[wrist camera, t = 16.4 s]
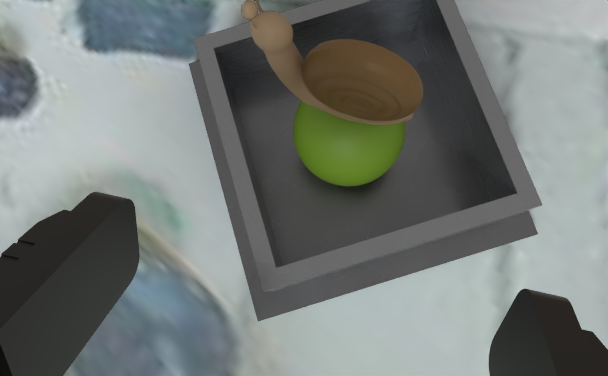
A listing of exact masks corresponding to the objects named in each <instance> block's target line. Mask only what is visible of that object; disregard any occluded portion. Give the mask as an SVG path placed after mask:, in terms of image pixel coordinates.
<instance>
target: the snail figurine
mask: <svg viewBox="0 0 608 376" xmlns="http://www.w3.org/2000/svg"><path fill="white" fill-rule="evenodd" d="M254 1H256V3H257V5H256V3H255V2H253V1H251V0H247V1H245V2H244V3H243V5H242V7H241V14H242V16H243V17H244V18H246V19H250V22H251V33H252V37H253V40H254V42H255V43H256V45H257V46H258V47H260V48H261V49H262V50H263V51H264V53H265V55H266V58H267V60H268V62H269V64H270V66H271V67H272V69H273V71H274V72H275V74H276V75H277V76H278V78H279V79H280V80H281V82H282V83H283V84H284V85H285V86H286V87H287V88H288V89H289V90H290V91H291V92H292V93H293V94H294V95H295V96H296V97H297V98H299V99H300V100H301V102H300V104H299V106H298V108H297V110H296V113H295V117H294V122H293V139H294V144H295V148H296V150H297V153H298V155H299V157H300V159H301V160H302V162H303V163H304V165H305V166H306V167H307V168H308V169H309V170H310V171H311V172H312V173H313V174H314V175H316V176H317V177H318V178H320V179H322V180H324V181H326V182H328V183H331V184H335V185H340V186H357V185H362V184H366V183H369V182H371V181H373V180H375V179H377V178H379V177H380V176H382V175H383V174H384V173H385V172H387V171H388V170H389V169H390V168H391V166H392V165H393V164H394V163H395V161H396V160H397V158H398V156H399V154H400V152H401V150H402V147H403V144H404V140H405V122H406V121H408V120H410V119H411V118H412V117H413V112H414V111H415V110H416V109H417V108H418V107H419V105H420V103H421V100H422V98H423V85H422V81H421V79H420V77H419V75H418V73H417V72H416V70H415V69H414V68H413V67H412V65H410V64H409V63H408V62H407V61H406V60H405V59H403V58H402V57H400V56H399V55H397V54H396V53H394V52H392V51H390V50H388V49H386V48H384V47H381V46H378V45H376V44H373V43H369V42H365V41H359V40H352V39H337V40H330V41H326V42H324V43H321V44H319V45H318V46H316V47H315V48H313V49H312V50H311V51H310V52H309V53H308V55H307V57H306V58H305V60H303V59H302V57H301V55H300V53H299V51H298V49H297V48H296V46H295V44H294V43H293V41H292V39H293V29H292V26H291V24H290V22H289V21H288V19H287V18H286V17H285V16H283V15H282V14H280V13H278V12H275V11H265V12H264V11H263V10H262V9H261V7H260V5H259V1H258V0H254ZM257 6H258V7H257ZM258 8H259V11H260V14H258V15H257V13H258ZM256 15H257V16H256ZM253 18H254V19H253ZM252 19H253V21H252Z"/></svg>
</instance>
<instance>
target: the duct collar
mask: <svg viewBox="0 0 608 376" xmlns="http://www.w3.org/2000/svg"><path fill="white" fill-rule="evenodd" d="M280 14H282V15H283V16H285V17H286V18H287V19H288V21H289V22H290V24H291V26H292V29H293V39H292V41H293V43H294V44H295V46H296V48H297V49H298V51H299V53H300V55H301V57H302V59H303V60H305V58H306V57H307V55H308V53H309V52H310V51H311V50H312V49H313V48H315V47H316V46H318V45H319V44H321V43H324V42H326V41H330V40H337V39H352V40H359V41H365V42H369V43H373V44H376V45H378V46H381V47H384V48H386V49H388V50H390V51H392V52H394V53H396V54H397V55H399V56H400V57H402V58H403V59H405V60H406V61H407V62H408V63H409V64H410V65H412V67H413V68H414V69H415V70H416V72H417V73H418V75H419V77H420V79H421V81H422V85H423V98H422V100H421V103H420V105H419V107H418V108H417V109H416V110H415V111H414V112H413V117H412V118H411V119H410V120H408V121H406V122H405V140H404V144H403V147H402V150H401V152H400V154H399V156H398V158H397V160H396V161H395V163H394V164H393V165H392V166H391V168H390V169H389V170H388V171H387V172H385V173H384V174H383V175H382V176H380V177H379V178H377V179H375V180H373V181H371V182H369V183H366V184H362V185H357V186H340V185H335V184H331V183H328V182H326V181H324V180H322V179H320V178H318V177H317V176H316V175H314V174H313V173H312V172H311V171H310V170H309V169H308V168H307V167H306V166H305V165H304V163H303V162H302V160H301V159H300V157H299V155H298V153H297V150H296V148H295V144H294V139H293V122H294V117H295V113H296V110H297V108H298V106H299V104H300V102H301V100H300V99H299V98H297V97H296V96H295V95H294V94H293V93H292V92H291V91H290V90H289V89H288V88H287V87H286V86H285V85H284V84H283V83H282V82H281V80H280V79H279V78H278V76H277V75H276V74H275V72H274V71H273V69H272V67H271V66H270V64H269V62H268V60H267V58H266V55H265V53H264V51H263V50H262V49H261V48H260V47H258V46H257V45H256V43H255V42H254V40H253V37H252V33H251V22H248V23H244V24H241V25H238V26H234V27H231V28H228V29H224V30H221V31H218V32H215V33H211V34H208V35H205V36H201V37H198V38H195V39H194V41H195V45H196V49H197V52H198V56H199V60H200V61H196V62H193V63H190V64H189V67H190V70H191V74H192V78H193V81H194V85H195V89H196V93H197V96H198V100H199V104H200V108H201V111H202V115H203V119H204V122H205V126H206V130H207V134H208V137H209V141H210V145H211V148H212V152H213V156H214V160H215V163H216V167H217V171H218V174H219V178H220V182H221V186H222V189H223V193H224V197H225V200H226V204H227V208H228V212H229V215H230V219H231V223H232V226H233V230H234V234H235V238H236V241H237V245H238V249H239V253H240V256H241V260H242V264H243V267H244V271H245V275H246V279H247V282H248V286H249V290H250V293H251V297H252V301H253V305H254V308H255V312H256V316H257V319H258V321H261V320H264V319H267V318H270V317H274V316H277V315H280V314H283V313H286V312H290V311H293V310H296V309H299V308H302V307H306V306H309V305H312V304H315V303H318V302H322V301H325V300H328V299H331V298H334V297H338V296H341V295H344V294H347V293H350V292H354V291H357V290H360V289H363V288H367V287H370V286H373V285H376V284H379V283H383V282H386V281H389V280H392V279H395V278H399V277H402V276H405V275H408V274H411V273H415V272H418V271H421V270H424V269H427V268H431V267H434V266H437V265H440V264H443V263H447V262H450V261H453V260H456V259H460V258H463V257H466V256H469V255H472V254H476V253H479V252H482V251H485V250H488V249H492V248H495V247H498V246H501V245H504V244H508V243H511V242H514V241H517V240H520V239H524V238H527V237H530V236H533V235H536V234H538V233H537V230H536V228H535V226H534V223H533V221H532V219H531V216H530V214H529V211H528V210H531V209H533V208H536V207H539V206H541V205H542V203H541V201H540V198H539V196H538V194H537V191H536V189H535V187H534V184H533V182H532V180H531V177H530V175H529V173H528V171H527V168H526V166H525V164H524V161H523V159H522V157H521V154H520V152H519V150H518V147H517V145H516V143H515V140H514V138H513V136H512V133H511V131H510V129H509V126H508V124H507V122H506V120H505V117H504V115H503V113H502V110H501V108H500V106H499V103H498V101H497V99H496V96H495V94H494V92H493V89H492V87H491V85H490V82H489V80H488V78H487V75H486V73H485V71H484V69H483V66H482V64H481V62H480V59H479V57H478V55H477V52H476V50H475V48H474V45H473V43H472V41H471V38H470V36H469V34H468V31H467V29H466V27H465V24H464V22H463V20H462V18H461V15H460V13H459V11H458V8H457V6H456V4H455V1H454V0H321V1H318V2H314V3H311V4H308V5H304V6H301V7H298V8H294V9H291V10H288V11H284V12H281V13H280Z"/></svg>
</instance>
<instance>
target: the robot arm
mask: <svg viewBox="0 0 608 376" xmlns="http://www.w3.org/2000/svg"><path fill="white" fill-rule="evenodd" d="M138 263H139V244H138V234H137V224H136V214H135V206H134V203H133V202H132V201H131V200H130V199H126V198H122V197H118V196H113V195H109V194H104V193H100V192H93V193H91V194H89V195H88V196H87V197H86V198H85V199H84V200H83V201H81V202H80V203H79V204H78V205H77V206H76V207H75V208H74V209H73V210H72V211H68V210H62V211H60V212H58V213H56V214H54V215H52V216H50V217H48V218H46V219H44V220H42V221H39V222H38V223H37V224H35V225H34V226H33V227H32V228H31V229H30V230H28V231H27V232H26V233H25V234H24V235H23V236H22V237H20V238H19V239H18V242H17V243H13V244H12V245H11V246H10V247H9V248H8V249H7V250H5V251H4V252H3V253H2V255H1V257H0V376H63V375H64V374H65V372H66V371H67V369H68V368H69V367H70V365H71V364H72V363H73V361H74V360H75V358H76V357H77V356H78V354H79V353H80V352H81V350H82V349H83V347H84V346H85V345H86V343H87V342H88V341H89V339H90V338H91V336H92V335H93V334H94V332H95V331H96V330H97V328H98V327H99V325H100V324H101V323H102V321H103V320H104V319H105V317H106V316H107V314H108V313H109V312H110V310H111V309H112V308H113V306H114V305H115V303H116V302H117V301H118V299H119V298H120V297H121V295H122V294H123V292H124V291H125V290H126V288H127V287H128V286H129V284H130V283H131V281H132V279H133V278H134V276H135V273H136V271H137V267H138ZM489 372H490V376H608V350H607V348H606V347H605V346H604V345H603V344H602V343H601V341H600V340H599V339H598V338H597V337H596V336H595V334H594V333H593V332H591V331H586V330H582V329H581V327H580V325H579V322H578V320H577V317H576V315H575V312H574V310H573V307H572V305H571V303H570V302H569V300H568V299H566V298H564V297H560V296H556V295H551V294H547V293H542V292H538V291H533V290H529V289H523V290H521V291H520V292H519V293H518V294H517V296H516V298H515V300H514V302H513V303H512V305H511V307H510V309H509V311H508V312H507V314H506V316H505V318H504V320H503V322H502V323H501V325H500V327H499V329H498V331H497V333H496V334H495V336H494V338H493V341H492V344H491V347H490V353H489Z"/></svg>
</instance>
